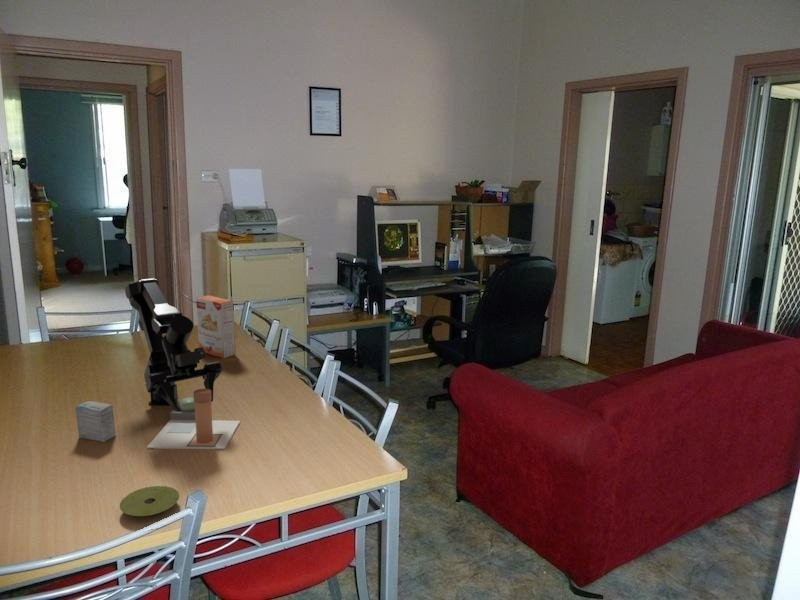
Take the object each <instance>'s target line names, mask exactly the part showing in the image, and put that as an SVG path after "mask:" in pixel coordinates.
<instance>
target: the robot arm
mask: <svg viewBox="0 0 800 600" xmlns="http://www.w3.org/2000/svg"><path fill="white" fill-rule="evenodd" d="M124 291H125V292H124V293H125V296H126V299H128V301H129V305H130V306H131V307H132V308H133V309H135V310H136V311H137V312H138V315H139V318H140V322H141V326H142V328H143V333H144V336H145V340H146V344H147V347H148V350H149V357H148V360H147V363H146V367H145V370H144V372H143V373H144V374H143V375H144V381H145V386H146V387H145V388H146V390H147V393H150V394H149V395H150V400H149V401H148V405H153V406H154V405H158V406H159V405H160V406H161V405H162V406H163V405H164V406H166V405H167V406H171V408H173V409H175V410H177V409H178V407H177V404H178V403H177V401H176V400H177V399H178V397H179V395H178V384H176V382H177V383H178V382H181V381H185V380H190V379H194V378H199V377H202V379H203V380H204V381H203V386H204V389H210V390H211V397H212V399H211V403H213V401H214V387H215V386H214V385H215V384H214V383H215V381H216V380H217V379H218V378H219V377H220V375H221V374H222V371H223V370H224V368H223V366H222V363H221V362H219V361H211V362H207V363H205V364H204V366H203V368H199V369H196V368H198V366H199V365H198V364H200V363H201V361H203V360H205V359H206V357H207V356H206V353H205V351H204V349H203V347H200V348H199V347H196V348H194V350H193V351H191V349H189V348H188V345H187V342H188V341H189V339H190V337H191V334H192V331H193V329H194V323H193V320H191V319H190V318H189V317H187V316H184V315H183V313H182V312H180V311H179V310H178V309H177V307H175V306H172V305H170V304H169V303H168V301H167V299H166V297H165V296H164V294H163V292H162V290H161V288H160V286H159V282H158V279H157V278H154V277H153V278H142V279H141V278H140V280H137V281H136V282H129V283H128V284H127V285H126V286H125V288H124Z"/></svg>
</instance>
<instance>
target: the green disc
mask: <svg viewBox="0 0 800 600" xmlns="http://www.w3.org/2000/svg"><path fill="white" fill-rule="evenodd" d="M179 498H180V493H179V491H178V490H177V489H176V488H173V487H171V486H166V485H155V486H147V487H143V488H140V489H136V490H134V491H133V492H130V493H129V494H127V495H126V496H125V497H123V498H122V499H121V500H120V502H119V508H120V511H121V512H123V513H124V514H125V515H127V516H133V517H134V516H135V517H147V516H152V515H153V516H154V515H157V514H160V513H162V512H165V511H167V510H169V509H170V508H172V507H173V506H175V504H176V503H177V502H178V500H179Z"/></svg>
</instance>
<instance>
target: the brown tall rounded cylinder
mask: <svg viewBox="0 0 800 600" xmlns="http://www.w3.org/2000/svg"><path fill="white" fill-rule="evenodd" d="M193 398H194V404H195V423H196V441H197V442H198V443H202V444H204V443H209V442H211V441H212V440H213V427H212V420H213V411H212V410H213V407H212V402H211V399H212V397H211V390H210V389H205V388H199V389H195V390H194V391H193Z"/></svg>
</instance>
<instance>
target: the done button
mask: <svg viewBox="0 0 800 600" xmlns="http://www.w3.org/2000/svg"><path fill="white" fill-rule="evenodd" d="M179 402H180V412H195V404H194V397H191V396H190V397H186V398H185V397H184V398H182V399H180V401H179Z"/></svg>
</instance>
